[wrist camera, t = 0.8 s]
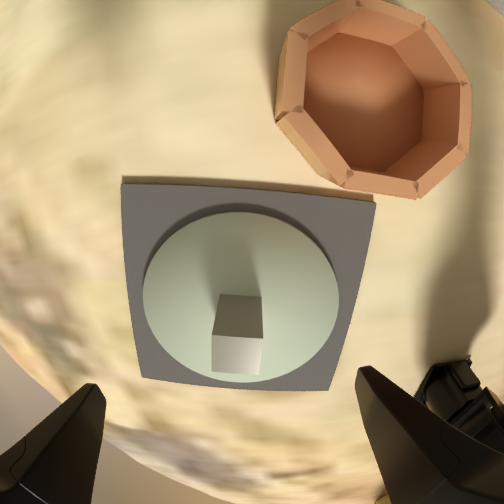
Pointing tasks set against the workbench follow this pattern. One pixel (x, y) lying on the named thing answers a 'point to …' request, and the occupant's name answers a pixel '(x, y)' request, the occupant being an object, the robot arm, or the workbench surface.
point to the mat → (257, 201)
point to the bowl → (373, 98)
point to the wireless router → (497, 5)
